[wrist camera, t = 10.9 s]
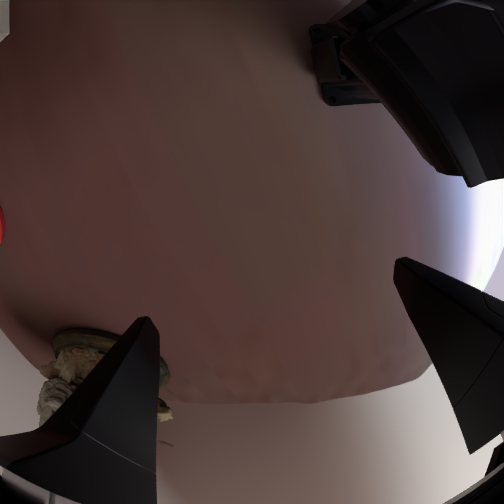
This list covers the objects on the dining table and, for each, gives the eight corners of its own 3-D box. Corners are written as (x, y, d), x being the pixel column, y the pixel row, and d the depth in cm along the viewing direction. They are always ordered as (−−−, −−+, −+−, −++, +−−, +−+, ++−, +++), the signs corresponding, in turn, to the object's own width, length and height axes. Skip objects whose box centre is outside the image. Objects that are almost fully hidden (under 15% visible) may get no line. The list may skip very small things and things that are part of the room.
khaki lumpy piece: (173, 336, 28) (158, 490, 14) (181, 389, 34) (177, 502, 20) (41, 319, 26) (-8, 432, 11) (70, 372, 32) (44, 468, 18)
